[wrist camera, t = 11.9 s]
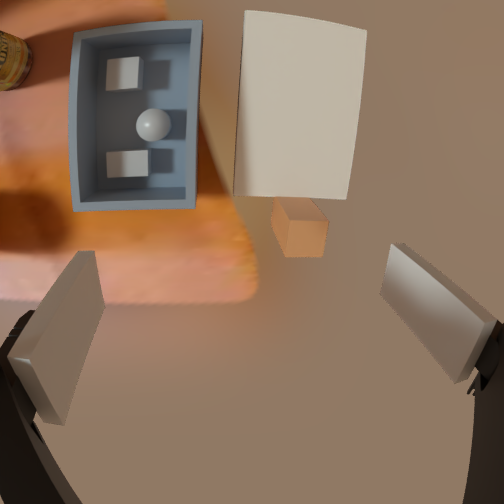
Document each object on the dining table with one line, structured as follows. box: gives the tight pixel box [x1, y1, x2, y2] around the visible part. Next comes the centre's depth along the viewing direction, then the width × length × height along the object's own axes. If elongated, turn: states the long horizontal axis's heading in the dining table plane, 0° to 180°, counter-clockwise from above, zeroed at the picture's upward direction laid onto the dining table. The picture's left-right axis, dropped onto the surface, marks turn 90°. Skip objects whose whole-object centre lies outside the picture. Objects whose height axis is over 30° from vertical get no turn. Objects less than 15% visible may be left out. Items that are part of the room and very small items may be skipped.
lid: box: [233, 10, 367, 257], centre depth 27 cm, size 22×12×8 cm, turn 177°
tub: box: [68, 20, 203, 212], centre depth 25 cm, size 16×11×6 cm
